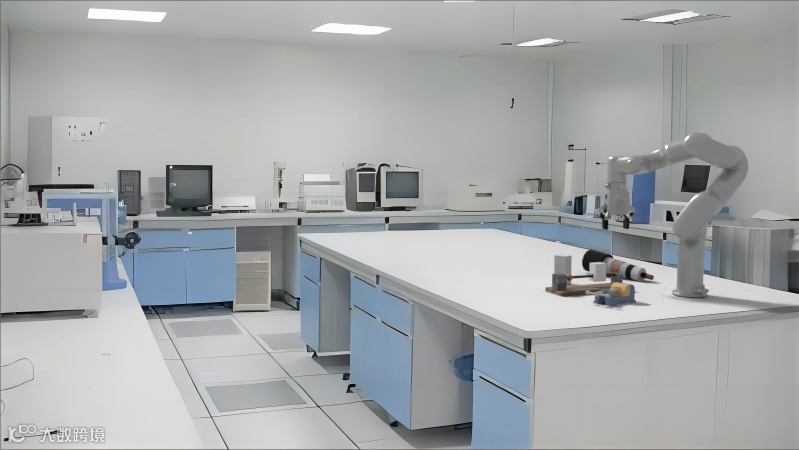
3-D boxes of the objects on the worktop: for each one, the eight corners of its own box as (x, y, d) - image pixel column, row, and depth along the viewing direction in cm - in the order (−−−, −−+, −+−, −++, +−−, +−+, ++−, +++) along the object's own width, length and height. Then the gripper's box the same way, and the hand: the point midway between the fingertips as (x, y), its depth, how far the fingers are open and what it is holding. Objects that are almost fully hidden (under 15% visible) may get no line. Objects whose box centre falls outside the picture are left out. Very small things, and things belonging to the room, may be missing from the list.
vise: (615, 298, 292) (616, 280, 291) (639, 302, 284) (639, 284, 283) (584, 303, 281) (585, 285, 280) (607, 308, 273) (608, 289, 272)
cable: (647, 293, 325) (643, 274, 321) (584, 275, 352) (580, 256, 347) (661, 281, 330) (657, 261, 326) (598, 263, 356) (594, 245, 352)
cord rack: (627, 291, 305) (628, 272, 304) (561, 296, 295) (562, 276, 294) (609, 286, 316) (609, 268, 316) (545, 291, 306) (545, 272, 305)
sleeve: (605, 281, 306) (606, 263, 305) (595, 281, 304) (595, 264, 303) (599, 279, 310) (600, 262, 309) (589, 280, 308) (589, 262, 307)
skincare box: (571, 284, 323) (572, 255, 321) (565, 285, 320) (565, 256, 319) (559, 282, 327) (560, 254, 326) (553, 283, 324) (554, 254, 323)
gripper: (603, 187, 306) (602, 230, 307) (640, 186, 311) (639, 229, 312) (592, 186, 313) (591, 229, 314) (629, 186, 318) (628, 227, 320)
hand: (615, 229), depth 313 cm, fingers open, 9 cm apart
